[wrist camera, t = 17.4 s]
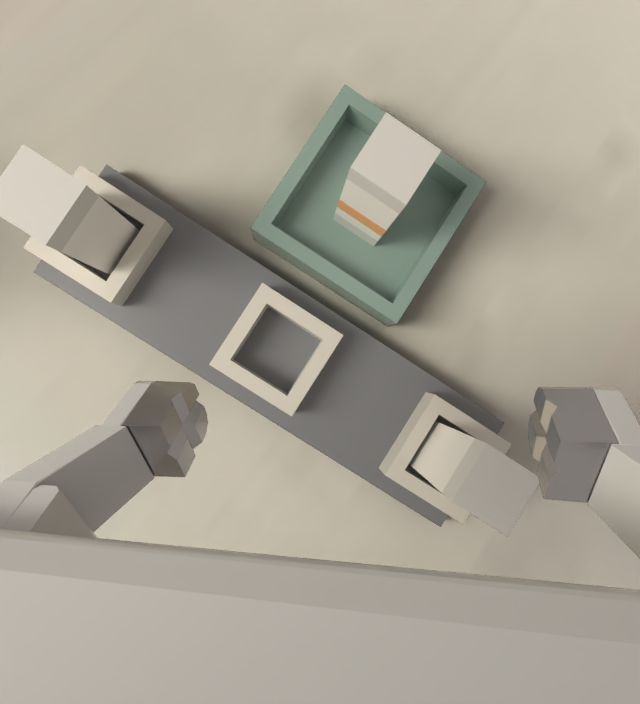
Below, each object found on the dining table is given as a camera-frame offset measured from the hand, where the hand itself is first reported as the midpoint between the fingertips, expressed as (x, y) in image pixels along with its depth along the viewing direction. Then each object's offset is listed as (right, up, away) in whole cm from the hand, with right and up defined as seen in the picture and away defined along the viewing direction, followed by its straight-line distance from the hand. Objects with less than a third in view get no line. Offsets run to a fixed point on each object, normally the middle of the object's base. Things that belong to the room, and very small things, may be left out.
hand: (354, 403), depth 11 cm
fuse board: (-4, +1, +22) cm, 23 cm away
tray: (+2, +11, +23) cm, 26 cm away
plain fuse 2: (+8, -6, +22) cm, 24 cm away
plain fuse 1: (-16, +9, +20) cm, 27 cm away
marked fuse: (+3, +12, +22) cm, 25 cm away
